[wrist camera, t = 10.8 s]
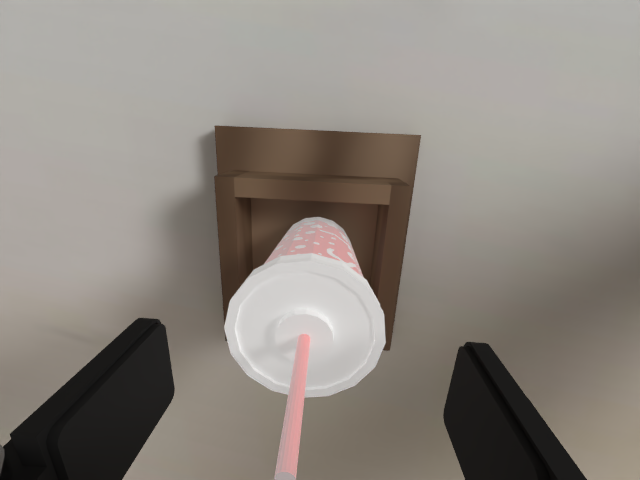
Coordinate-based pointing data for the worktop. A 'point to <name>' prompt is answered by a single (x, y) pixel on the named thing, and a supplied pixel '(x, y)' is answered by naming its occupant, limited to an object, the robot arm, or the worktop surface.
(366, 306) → the beverage cup
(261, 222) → the cup holder
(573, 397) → the worktop surface
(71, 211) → the worktop surface
